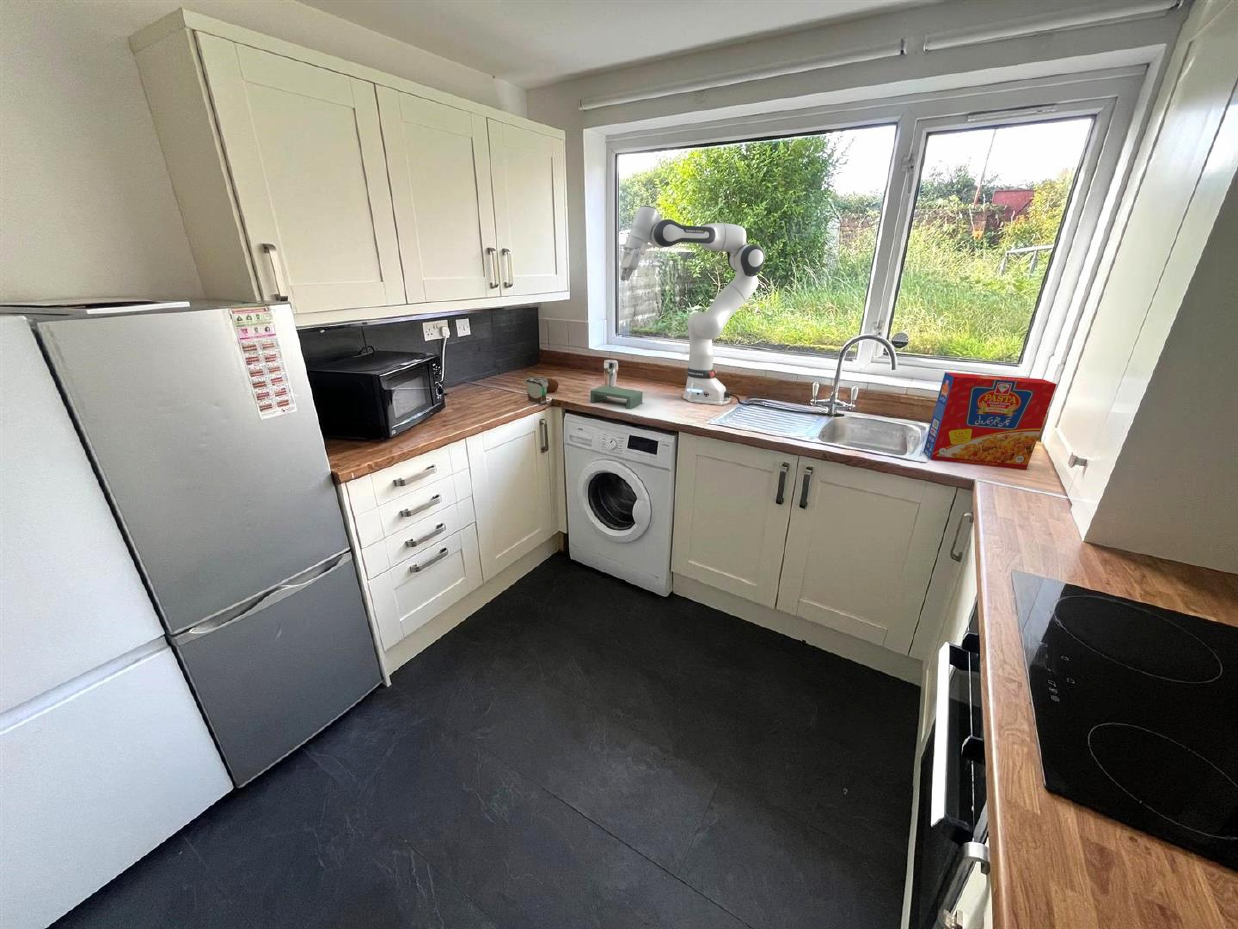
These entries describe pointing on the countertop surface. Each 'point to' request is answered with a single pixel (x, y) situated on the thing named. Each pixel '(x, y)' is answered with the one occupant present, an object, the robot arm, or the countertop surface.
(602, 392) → the shelf
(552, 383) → the potato
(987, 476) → the countertop surface
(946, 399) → the pasta box
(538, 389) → the food container
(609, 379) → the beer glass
